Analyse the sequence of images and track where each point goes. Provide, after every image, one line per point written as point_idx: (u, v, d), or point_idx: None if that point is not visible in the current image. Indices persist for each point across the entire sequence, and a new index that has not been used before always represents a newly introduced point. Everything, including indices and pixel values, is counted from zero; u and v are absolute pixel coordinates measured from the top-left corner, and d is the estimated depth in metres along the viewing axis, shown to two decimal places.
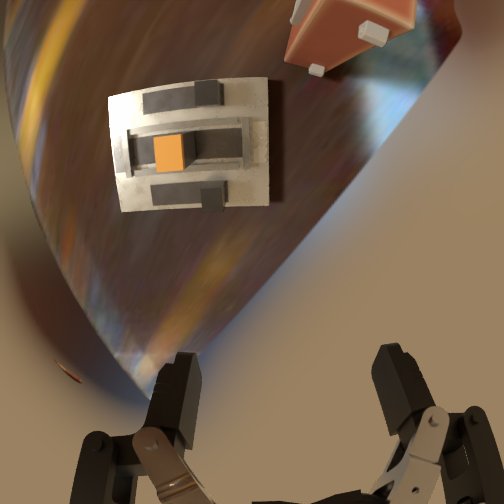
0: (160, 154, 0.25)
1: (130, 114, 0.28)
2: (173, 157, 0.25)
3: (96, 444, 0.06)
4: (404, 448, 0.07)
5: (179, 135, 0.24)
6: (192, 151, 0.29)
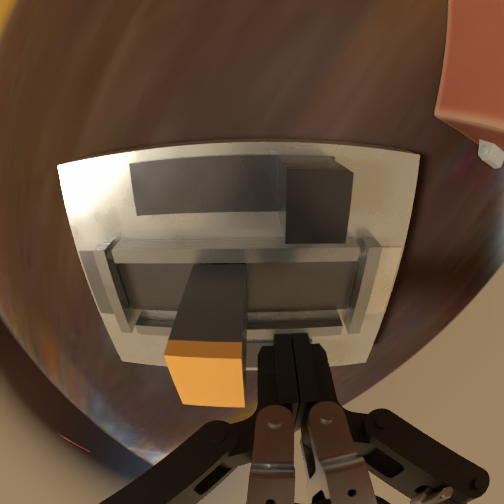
0: (188, 384, 0.10)
1: (107, 209, 0.14)
2: (221, 391, 0.10)
3: (217, 436, 0.07)
4: (312, 448, 0.08)
5: (237, 360, 0.09)
6: (246, 318, 0.14)
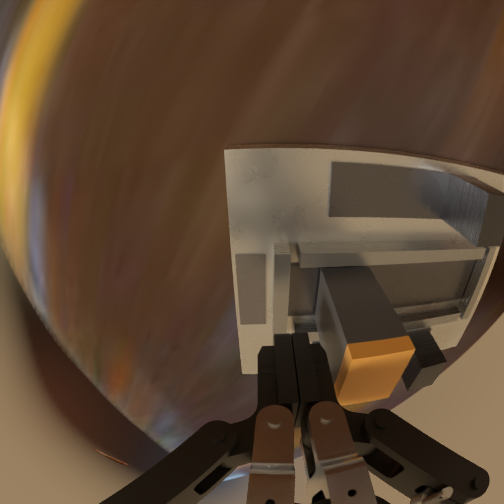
0: (355, 384, 0.10)
1: (290, 208, 0.13)
2: (380, 384, 0.10)
3: (217, 436, 0.07)
4: (312, 448, 0.08)
5: (412, 351, 0.09)
6: None
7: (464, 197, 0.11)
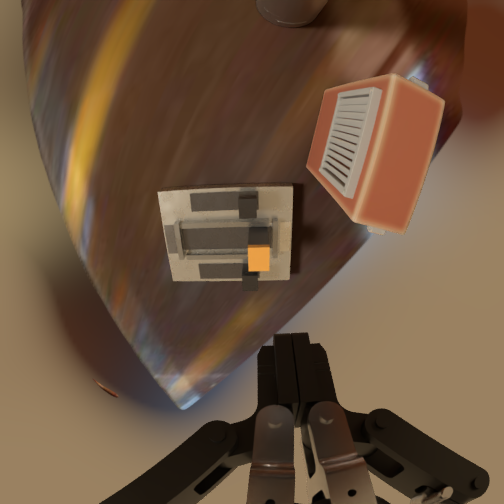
0: (252, 259, 0.37)
1: (179, 209, 0.40)
2: (262, 262, 0.37)
3: (217, 436, 0.07)
4: (312, 448, 0.08)
5: (268, 248, 0.36)
6: None
7: None
